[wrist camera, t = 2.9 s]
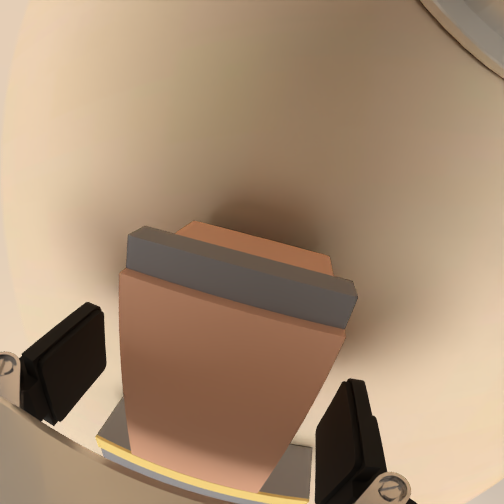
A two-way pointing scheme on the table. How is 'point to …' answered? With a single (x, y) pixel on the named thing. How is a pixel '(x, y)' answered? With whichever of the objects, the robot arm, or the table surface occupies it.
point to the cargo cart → (224, 348)
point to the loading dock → (266, 500)
